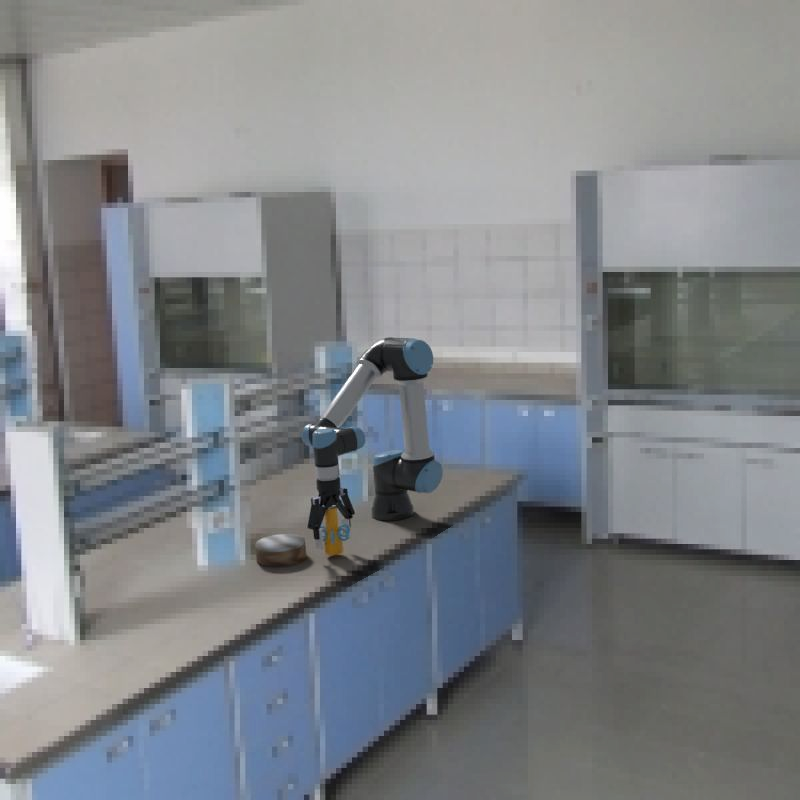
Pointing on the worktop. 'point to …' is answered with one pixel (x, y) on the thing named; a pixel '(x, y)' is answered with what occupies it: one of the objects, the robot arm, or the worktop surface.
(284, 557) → the pedestal
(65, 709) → the worktop surface
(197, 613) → the worktop surface
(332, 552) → the orange upright piece
